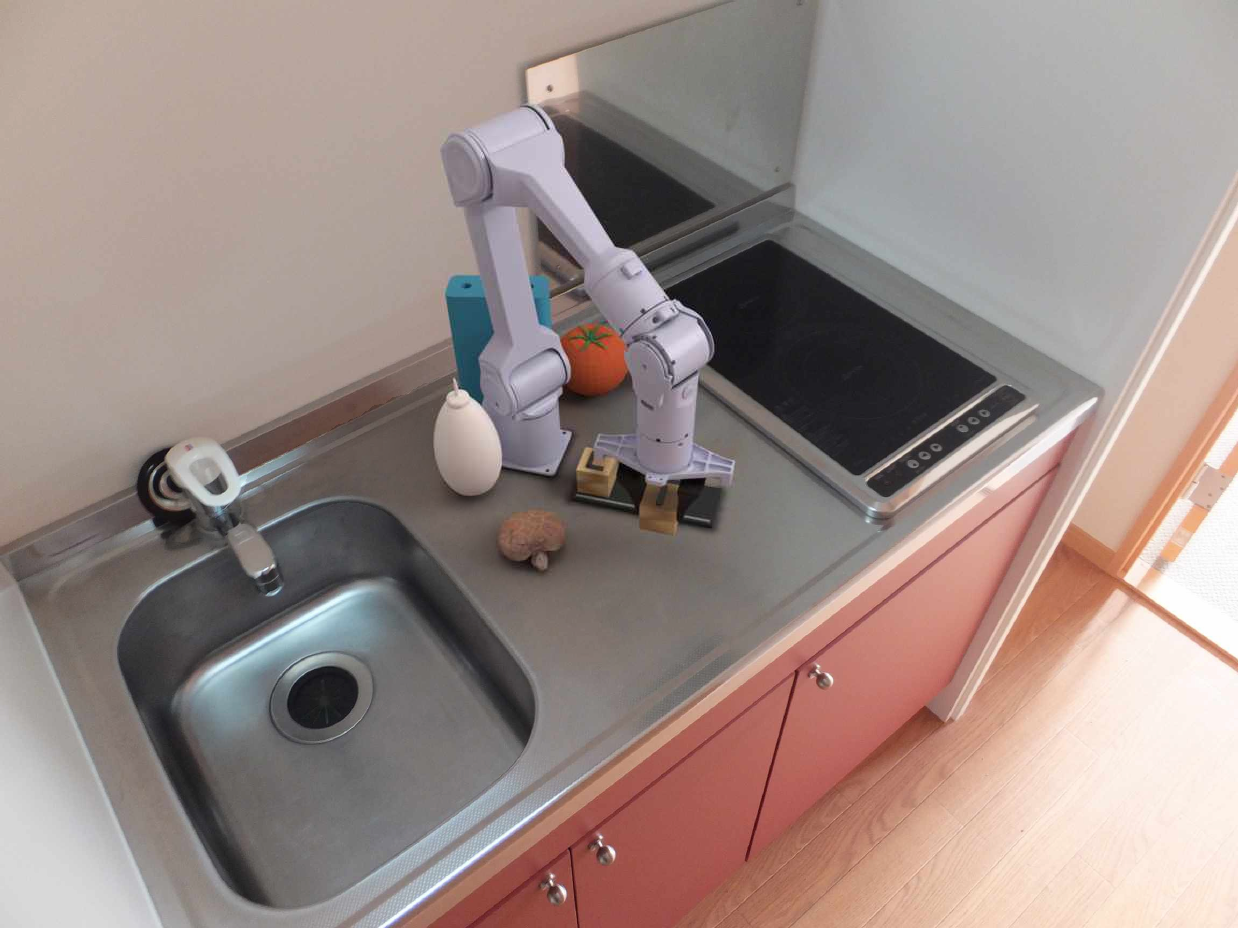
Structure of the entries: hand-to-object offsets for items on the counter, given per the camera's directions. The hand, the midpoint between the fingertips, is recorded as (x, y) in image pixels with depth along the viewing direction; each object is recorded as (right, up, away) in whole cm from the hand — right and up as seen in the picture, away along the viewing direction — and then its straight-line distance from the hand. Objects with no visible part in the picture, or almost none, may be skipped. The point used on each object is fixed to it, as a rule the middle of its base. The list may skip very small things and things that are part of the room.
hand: (660, 510), depth 96 cm
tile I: (0, -1, +1) cm, 1 cm away
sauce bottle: (-23, +2, +12) cm, 26 cm away
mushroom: (-15, -5, +6) cm, 16 cm away
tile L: (-7, +3, +12) cm, 14 cm away
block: (-19, +11, +21) cm, 31 cm away
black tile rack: (-1, +1, +11) cm, 11 cm away
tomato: (-8, +16, +25) cm, 31 cm away
